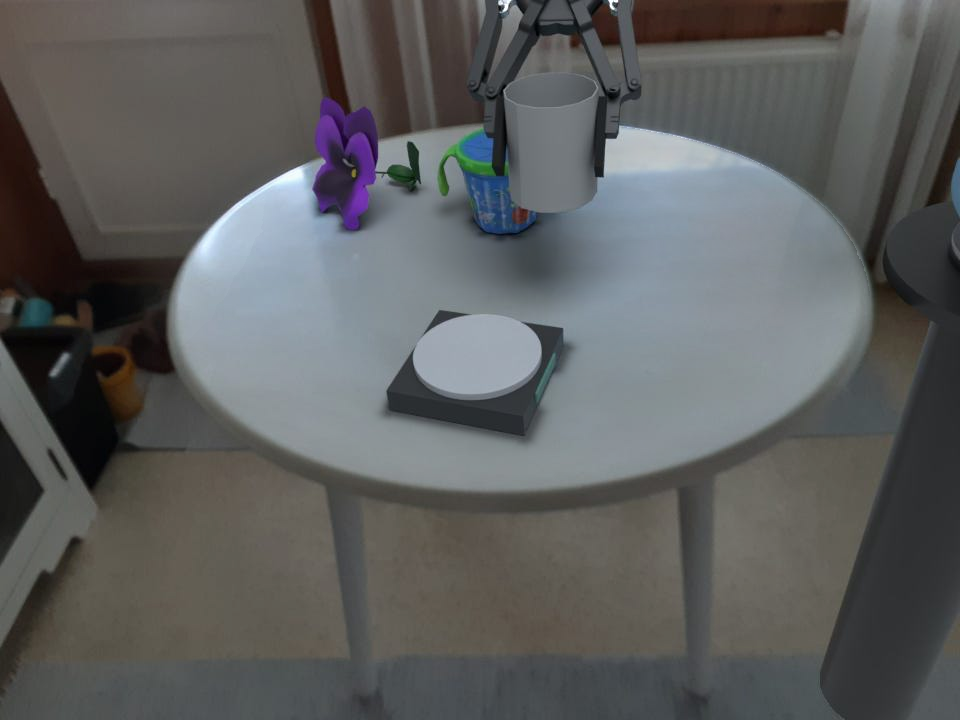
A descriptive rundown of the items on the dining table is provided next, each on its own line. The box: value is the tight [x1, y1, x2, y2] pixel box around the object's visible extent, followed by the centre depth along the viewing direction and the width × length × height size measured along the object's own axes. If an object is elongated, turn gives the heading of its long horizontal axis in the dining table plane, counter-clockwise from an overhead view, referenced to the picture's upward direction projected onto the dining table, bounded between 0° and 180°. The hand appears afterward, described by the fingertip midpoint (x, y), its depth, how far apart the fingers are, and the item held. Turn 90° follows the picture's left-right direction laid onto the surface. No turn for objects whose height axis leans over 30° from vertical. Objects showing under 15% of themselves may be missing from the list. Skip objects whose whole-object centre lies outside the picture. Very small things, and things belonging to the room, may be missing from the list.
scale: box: [385, 309, 565, 436], centre depth 79 cm, size 13×13×3 cm
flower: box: [311, 96, 422, 231], centre depth 107 cm, size 15×15×14 cm
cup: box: [503, 71, 600, 214], centre depth 78 cm, size 8×8×10 cm
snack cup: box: [437, 128, 538, 235], centre depth 100 cm, size 16×10×10 cm
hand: (547, 171), depth 76 cm, fingers closed on cup, 8 cm apart
